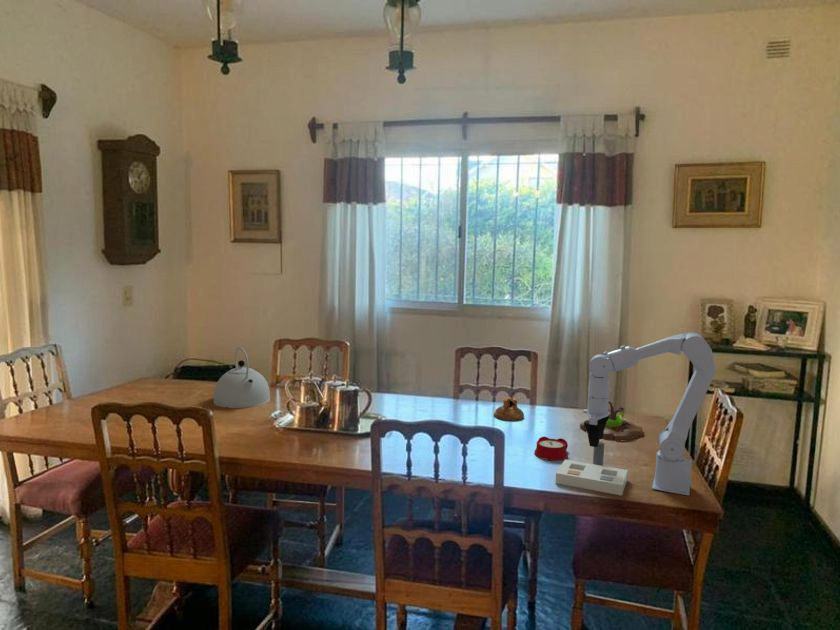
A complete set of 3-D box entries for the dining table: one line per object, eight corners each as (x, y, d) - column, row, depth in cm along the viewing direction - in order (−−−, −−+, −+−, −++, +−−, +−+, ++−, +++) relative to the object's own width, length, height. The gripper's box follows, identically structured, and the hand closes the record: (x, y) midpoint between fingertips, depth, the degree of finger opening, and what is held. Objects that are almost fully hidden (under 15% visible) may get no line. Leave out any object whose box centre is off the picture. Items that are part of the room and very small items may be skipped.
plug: (603, 467, 182) (605, 440, 181) (602, 471, 179) (603, 443, 178) (593, 466, 183) (595, 439, 182) (591, 469, 181) (593, 442, 180)
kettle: (279, 404, 245) (278, 350, 242) (222, 412, 233) (221, 355, 230) (260, 391, 266) (259, 341, 263) (207, 397, 254) (206, 345, 251)
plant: (605, 420, 232) (607, 392, 231) (650, 434, 216) (653, 404, 215) (571, 429, 221) (573, 399, 219) (616, 444, 205) (618, 412, 203)
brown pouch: (522, 413, 239) (523, 395, 239) (524, 422, 228) (525, 403, 227) (493, 412, 241) (494, 394, 240) (493, 420, 229) (494, 402, 228)
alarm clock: (532, 448, 188) (538, 425, 201) (532, 466, 190) (537, 441, 203) (566, 452, 185) (569, 428, 198) (566, 470, 187) (569, 444, 200)
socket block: (627, 480, 173) (627, 469, 173) (621, 495, 162) (622, 484, 162) (564, 469, 181) (564, 458, 180) (555, 483, 170) (556, 472, 170)
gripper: (588, 389, 180) (586, 433, 182) (579, 400, 167) (577, 447, 169) (612, 392, 177) (610, 436, 179) (605, 404, 164) (602, 451, 166)
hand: (595, 442), depth 174 cm, fingers open, 7 cm apart
